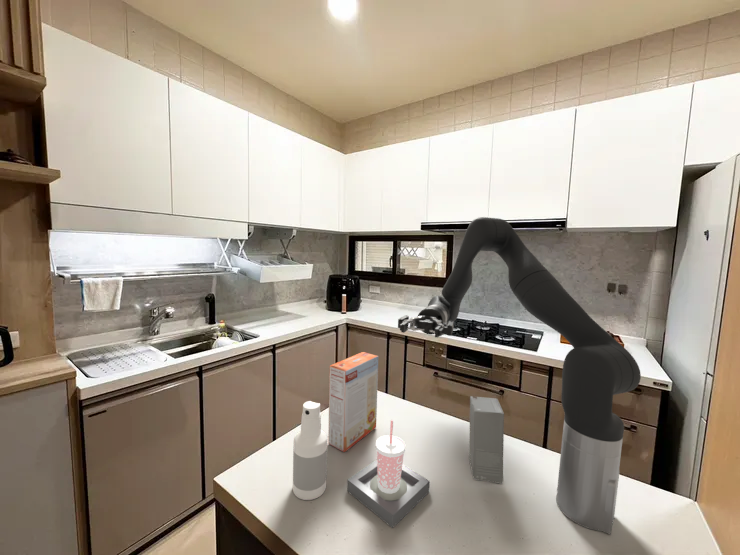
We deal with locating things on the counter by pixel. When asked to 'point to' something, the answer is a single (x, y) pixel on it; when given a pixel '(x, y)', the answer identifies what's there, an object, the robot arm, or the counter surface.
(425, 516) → the counter surface
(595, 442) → the robot arm
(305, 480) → the spray bottle
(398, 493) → the coaster tray
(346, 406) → the cracker box
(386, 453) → the beverage cup
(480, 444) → the skincare box
